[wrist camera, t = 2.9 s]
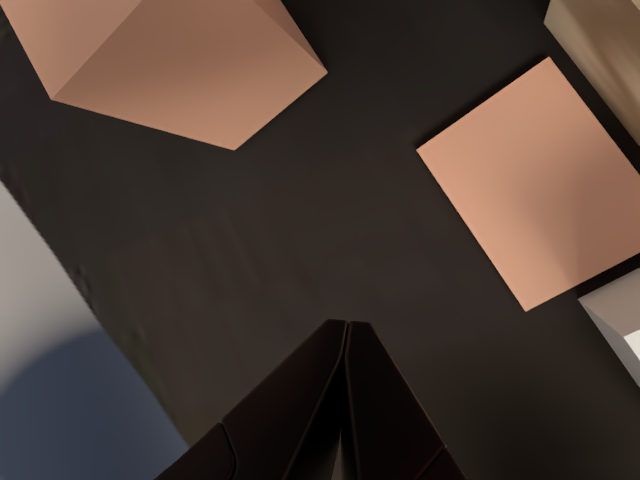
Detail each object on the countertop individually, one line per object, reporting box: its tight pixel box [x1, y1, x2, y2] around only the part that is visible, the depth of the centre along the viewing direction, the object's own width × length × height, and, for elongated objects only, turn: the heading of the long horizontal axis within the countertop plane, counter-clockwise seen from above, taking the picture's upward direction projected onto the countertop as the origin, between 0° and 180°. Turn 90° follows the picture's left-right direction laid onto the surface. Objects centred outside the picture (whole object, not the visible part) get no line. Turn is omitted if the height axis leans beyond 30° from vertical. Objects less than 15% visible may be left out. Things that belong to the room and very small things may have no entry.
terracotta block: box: [0, 0, 328, 150], centre depth 17 cm, size 6×6×10 cm
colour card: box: [417, 57, 640, 312], centre depth 17 cm, size 8×6×1 cm
